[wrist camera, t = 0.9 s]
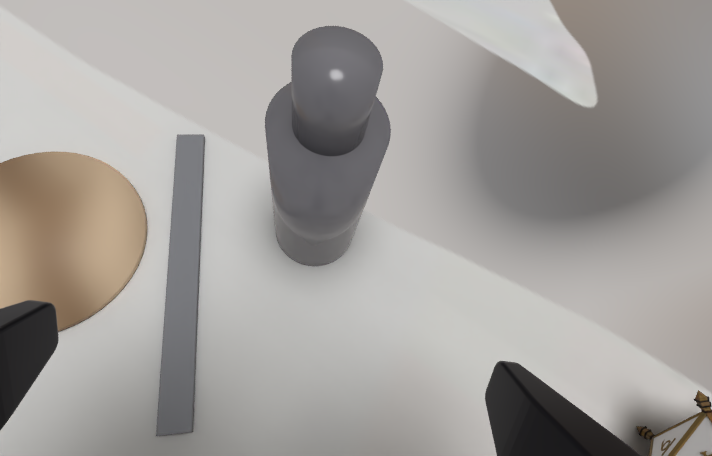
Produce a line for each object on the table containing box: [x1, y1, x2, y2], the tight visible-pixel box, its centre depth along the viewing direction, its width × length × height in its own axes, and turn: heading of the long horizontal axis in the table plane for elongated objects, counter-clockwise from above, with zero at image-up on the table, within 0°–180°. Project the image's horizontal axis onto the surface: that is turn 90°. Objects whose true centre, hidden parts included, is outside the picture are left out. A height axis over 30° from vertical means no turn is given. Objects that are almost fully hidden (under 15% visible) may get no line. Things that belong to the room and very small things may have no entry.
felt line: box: [156, 135, 205, 436], centre depth 22 cm, size 16×2×1 cm, turn 6°
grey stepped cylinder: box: [265, 26, 391, 266], centre depth 18 cm, size 4×4×13 cm
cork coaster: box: [0, 152, 147, 332], centre depth 21 cm, size 10×10×1 cm
